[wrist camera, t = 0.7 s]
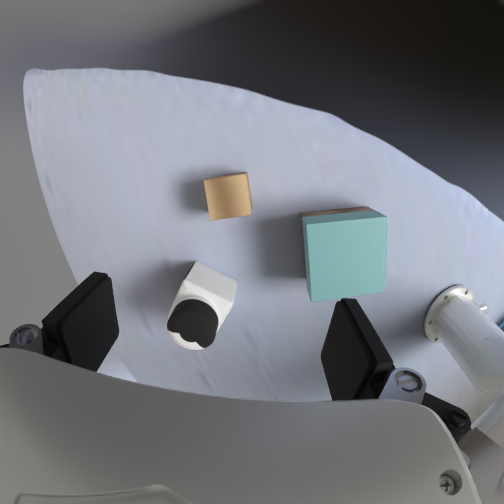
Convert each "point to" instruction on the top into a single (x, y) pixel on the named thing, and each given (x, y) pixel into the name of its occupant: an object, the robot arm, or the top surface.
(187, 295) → the medicine bottle
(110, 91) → the top surface
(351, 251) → the teal slab
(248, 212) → the oak block
